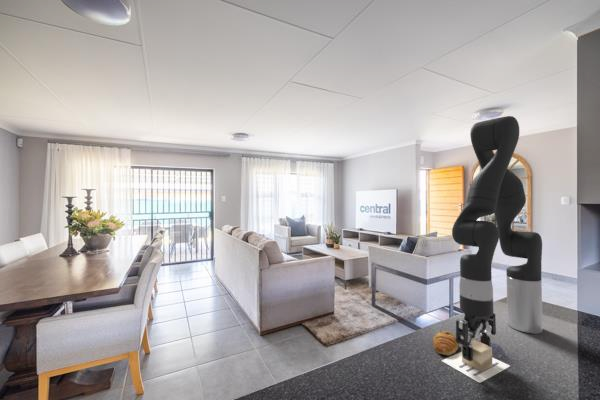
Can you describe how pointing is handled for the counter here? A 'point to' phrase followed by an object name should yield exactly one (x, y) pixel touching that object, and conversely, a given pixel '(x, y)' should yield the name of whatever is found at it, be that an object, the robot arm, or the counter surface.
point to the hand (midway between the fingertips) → (476, 355)
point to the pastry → (445, 343)
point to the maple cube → (480, 356)
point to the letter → (471, 372)
